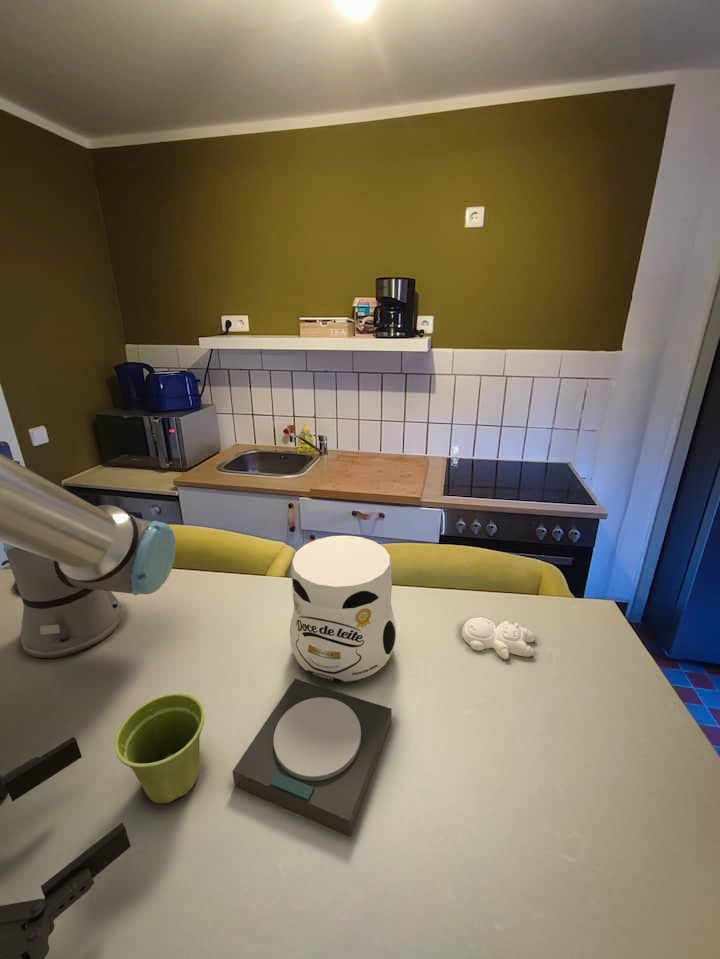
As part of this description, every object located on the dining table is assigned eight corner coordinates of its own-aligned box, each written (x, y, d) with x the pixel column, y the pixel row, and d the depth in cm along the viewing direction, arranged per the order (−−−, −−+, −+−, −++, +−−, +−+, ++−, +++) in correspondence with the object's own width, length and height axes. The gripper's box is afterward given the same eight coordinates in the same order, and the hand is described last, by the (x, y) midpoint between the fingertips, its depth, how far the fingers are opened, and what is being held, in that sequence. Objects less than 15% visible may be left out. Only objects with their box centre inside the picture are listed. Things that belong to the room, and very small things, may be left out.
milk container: (302, 707, 62) (295, 602, 55) (284, 629, 77) (276, 541, 71) (412, 677, 67) (417, 578, 60) (374, 610, 82) (375, 526, 76)
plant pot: (185, 829, 47) (173, 773, 44) (111, 811, 49) (94, 756, 46) (227, 750, 55) (219, 699, 52) (162, 737, 57) (151, 687, 54)
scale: (234, 785, 51) (231, 766, 50) (296, 690, 64) (294, 673, 63) (350, 836, 46) (349, 816, 45) (391, 722, 59) (392, 704, 58)
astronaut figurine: (530, 669, 68) (532, 653, 67) (456, 644, 73) (457, 630, 72) (537, 635, 75) (539, 621, 74) (469, 615, 81) (470, 601, 79)
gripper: (-195, 901, 39) (69, 740, 54) (-222, 1282, 23) (160, 908, 38) (-235, 848, 36) (54, 695, 51) (-295, 1237, 21) (145, 855, 36)
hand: (100, 786), depth 45 cm, fingers open, 13 cm apart
